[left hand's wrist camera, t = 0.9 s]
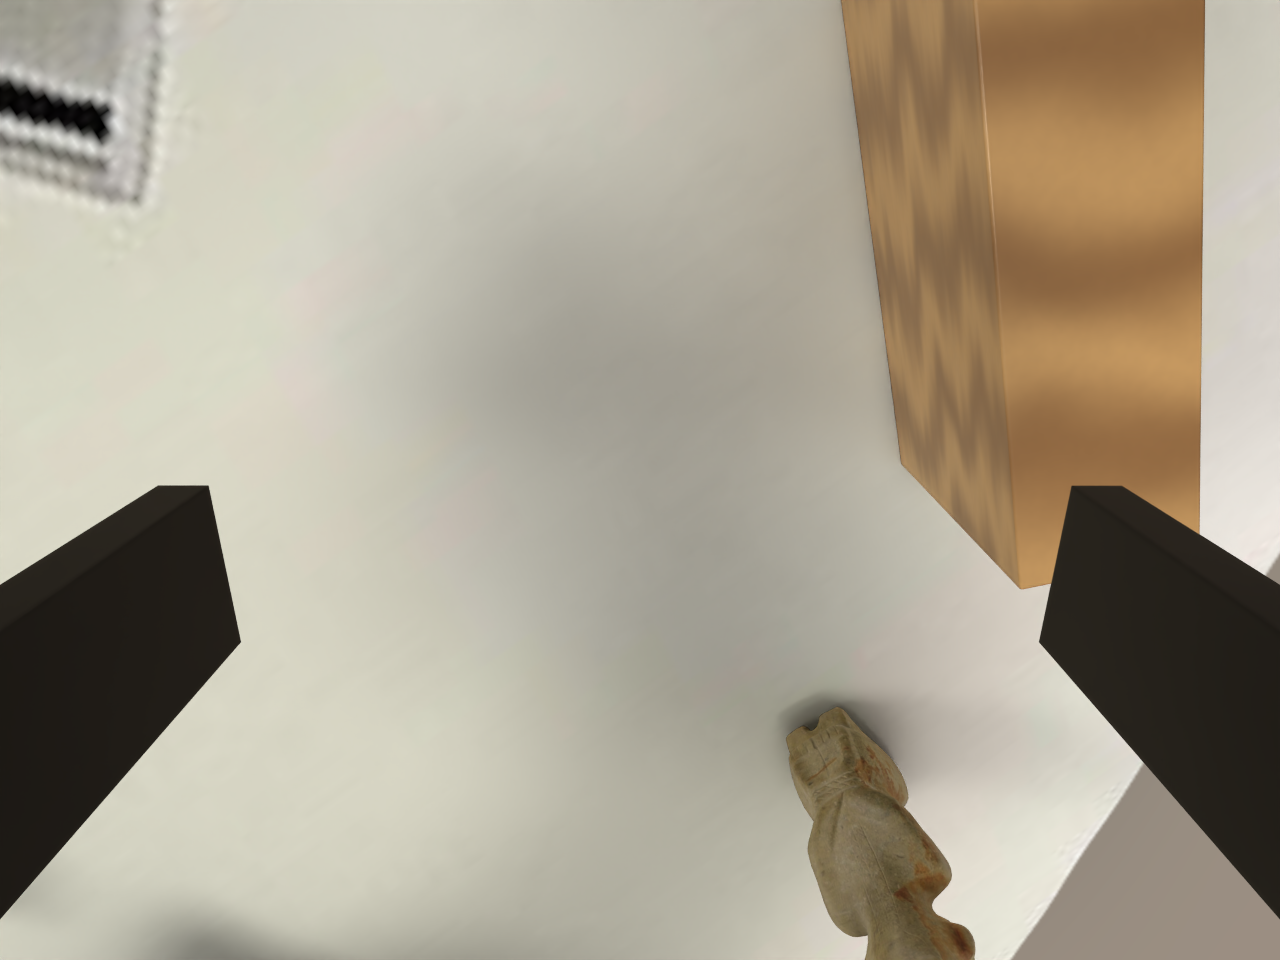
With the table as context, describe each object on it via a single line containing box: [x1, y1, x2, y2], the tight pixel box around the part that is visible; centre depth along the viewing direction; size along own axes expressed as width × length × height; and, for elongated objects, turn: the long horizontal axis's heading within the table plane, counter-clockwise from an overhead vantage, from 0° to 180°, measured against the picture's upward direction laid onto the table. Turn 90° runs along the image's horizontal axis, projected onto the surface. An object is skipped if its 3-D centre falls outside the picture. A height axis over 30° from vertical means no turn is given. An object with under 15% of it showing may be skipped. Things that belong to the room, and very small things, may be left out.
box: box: [841, 0, 1205, 589], centre depth 28 cm, size 20×6×13 cm, turn 13°
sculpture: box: [786, 707, 975, 960], centre depth 36 cm, size 6×7×15 cm
